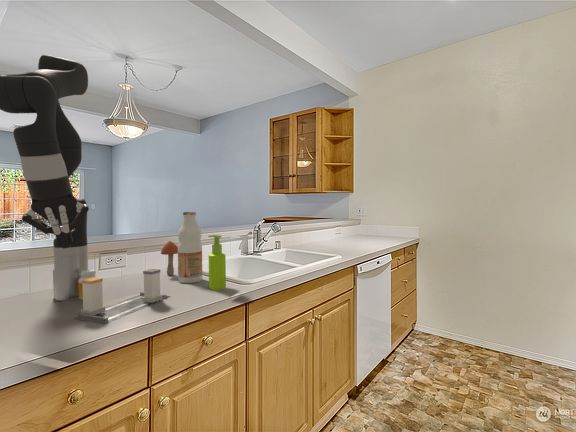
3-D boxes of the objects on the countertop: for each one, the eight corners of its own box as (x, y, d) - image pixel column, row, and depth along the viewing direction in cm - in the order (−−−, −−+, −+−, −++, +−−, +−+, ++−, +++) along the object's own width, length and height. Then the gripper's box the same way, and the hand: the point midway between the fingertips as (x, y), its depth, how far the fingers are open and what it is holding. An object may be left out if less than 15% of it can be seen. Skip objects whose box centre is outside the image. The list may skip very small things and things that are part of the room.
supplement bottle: (84, 304, 95) (83, 273, 94) (75, 301, 97) (74, 271, 97) (102, 299, 100) (101, 270, 99) (93, 297, 102) (92, 268, 102)
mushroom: (173, 272, 140) (172, 239, 139) (184, 274, 135) (183, 240, 135) (157, 275, 133) (156, 241, 133) (167, 277, 129) (167, 242, 128)
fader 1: (80, 314, 82) (79, 280, 81) (94, 309, 85) (93, 276, 85) (91, 316, 80) (90, 281, 80) (105, 311, 84) (104, 278, 84)
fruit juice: (173, 283, 120) (172, 212, 119) (185, 277, 129) (184, 211, 128) (195, 284, 118) (194, 212, 117) (206, 278, 127) (205, 211, 126)
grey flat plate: (73, 323, 80) (73, 314, 80) (144, 296, 102) (144, 290, 102) (104, 328, 76) (104, 319, 76) (171, 300, 99) (171, 293, 99)
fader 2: (142, 301, 92) (141, 271, 92) (152, 297, 96) (151, 268, 96) (152, 302, 91) (152, 272, 91) (162, 298, 95) (161, 269, 94)
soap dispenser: (217, 287, 114) (216, 233, 113) (229, 290, 109) (228, 235, 109) (203, 290, 109) (203, 235, 108) (215, 294, 105) (215, 236, 104)
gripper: (81, 169, 73) (97, 235, 79) (10, 176, 66) (33, 248, 72) (82, 174, 67) (99, 245, 73) (4, 182, 61) (29, 260, 66)
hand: (66, 246), depth 73 cm, fingers closed
